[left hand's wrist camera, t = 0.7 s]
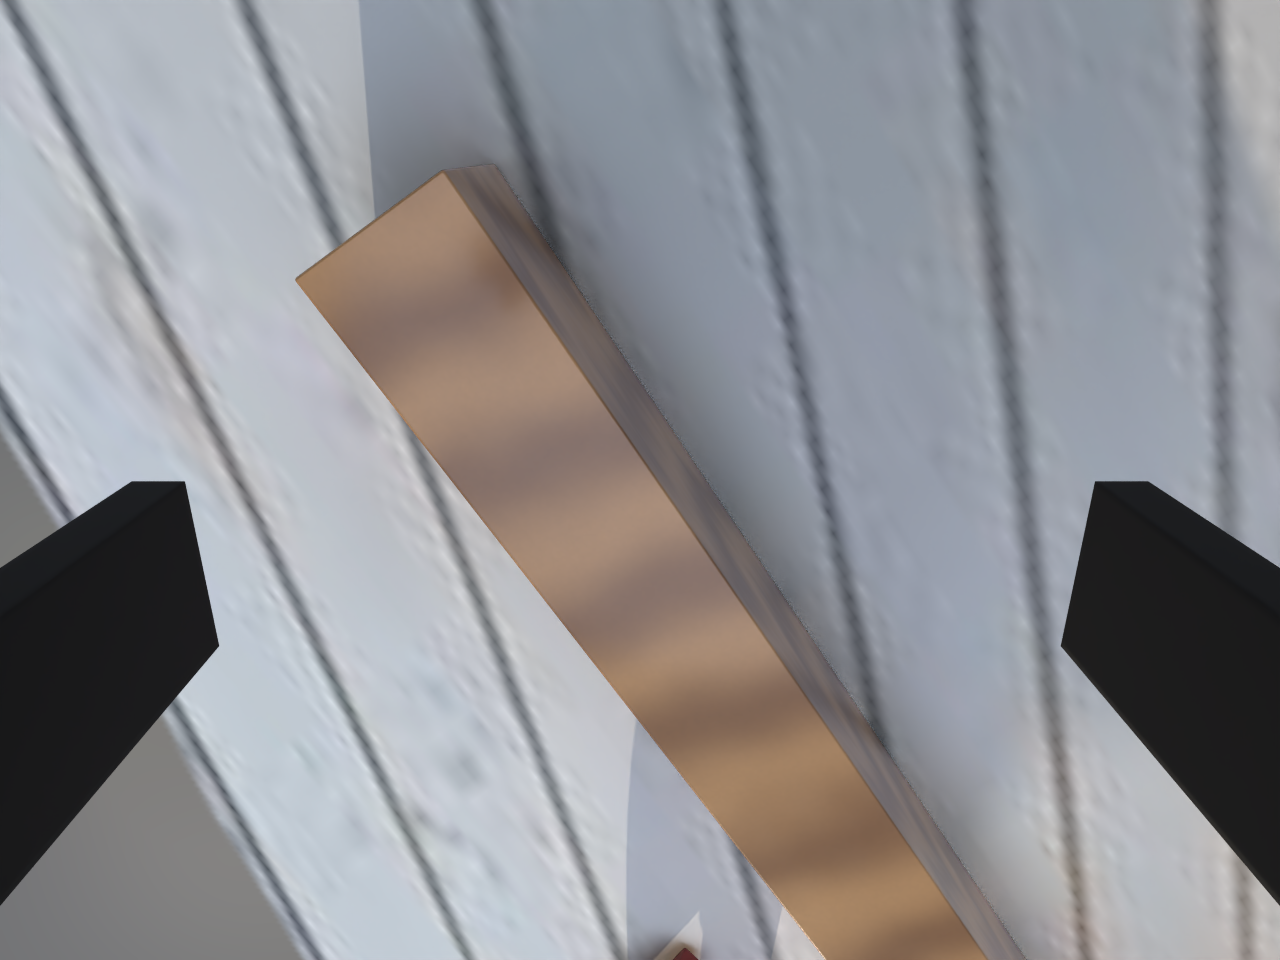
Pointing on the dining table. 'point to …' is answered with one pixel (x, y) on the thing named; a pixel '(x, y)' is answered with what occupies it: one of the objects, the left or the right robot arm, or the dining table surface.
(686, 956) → the dark red lumpy piece
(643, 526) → the beam
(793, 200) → the dining table surface
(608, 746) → the dining table surface
